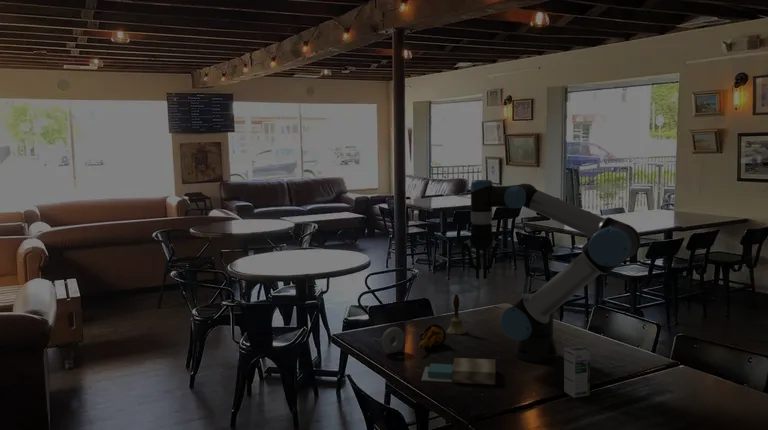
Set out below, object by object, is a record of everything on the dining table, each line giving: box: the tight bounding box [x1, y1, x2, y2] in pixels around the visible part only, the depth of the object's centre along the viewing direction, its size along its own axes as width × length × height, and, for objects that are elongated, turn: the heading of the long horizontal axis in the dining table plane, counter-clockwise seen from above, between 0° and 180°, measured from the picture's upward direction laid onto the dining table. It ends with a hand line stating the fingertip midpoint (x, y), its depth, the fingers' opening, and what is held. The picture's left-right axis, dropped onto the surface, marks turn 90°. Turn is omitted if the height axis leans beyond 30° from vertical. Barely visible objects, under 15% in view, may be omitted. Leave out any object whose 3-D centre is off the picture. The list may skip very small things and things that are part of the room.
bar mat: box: [421, 366, 453, 383], centre depth 216 cm, size 10×13×1 cm
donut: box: [381, 326, 405, 354], centre depth 239 cm, size 10×3×10 cm, turn 125°
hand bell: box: [446, 293, 467, 335], centre depth 265 cm, size 8×8×16 cm
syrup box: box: [563, 345, 591, 399], centre depth 196 cm, size 6×6×14 cm
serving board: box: [451, 357, 496, 385], centre depth 213 cm, size 14×13×4 cm
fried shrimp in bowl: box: [417, 323, 447, 351], centre depth 243 cm, size 9×11×18 cm
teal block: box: [428, 363, 453, 378], centre depth 215 cm, size 8×8×2 cm
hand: (481, 287), depth 229 cm, fingers closed
